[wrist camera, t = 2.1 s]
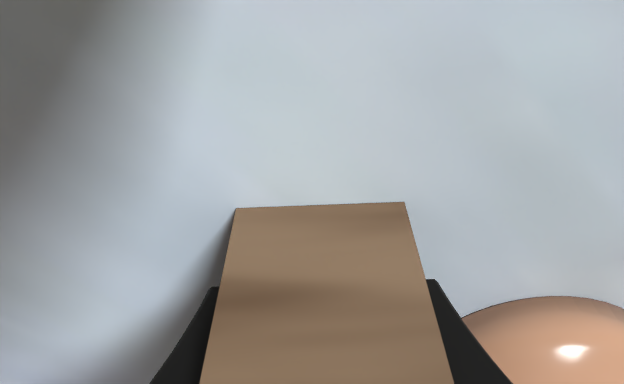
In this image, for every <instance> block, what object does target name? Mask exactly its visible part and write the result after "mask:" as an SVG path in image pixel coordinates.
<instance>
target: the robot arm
mask: <svg viewBox="0 0 624 384" xmlns="http://www.w3.org/2000/svg"><path fill="white" fill-rule="evenodd" d="M426 283H427V286H428V290H429V294H430V297H431V301H432V305H433V308H434V312H435V316H436V319H437V323H438V326H439V330H440V334H441V337H442V341H443V345H444V348H445V352H446V356H447V359H448V363H449V366H450V370H451V374H452V377H453V381H454V384H513V383H512V382H511V381H510V380H509V378H508V377H507V376H506V375H505V374H504V373H503V372H502V370H501V369H500V368H499V367H498V366H497V364H496V363H495V362H494V361H493V360H492V358H491V357H490V356H489V355H488V353H487V352H486V351H485V350H484V348H483V347H482V346H481V344H480V343H479V342H478V341H477V339H476V338H475V337H474V335H473V334H472V333H471V331H470V330H469V329H468V327H467V326H466V324H465V323H464V322H463V320H462V319H461V317H460V316H459V314H458V313H457V312H456V310H455V309H454V307H453V306H452V304H451V303H450V301H449V300H448V298H447V296H446V295H445V293H444V292H443V290H442V288H441V287H440V285H439V283H438V282H437V281H436V280H435V279H426ZM219 288H220V287H212V288H210V289H209V291H208V292H207V294H206V296H205V298H204V300H203V302H202V304H201V306H200V307H199V309H198V311H197V313H196V314H195V316H194V318H193V319H192V321H191V323H190V324H189V326H188V328H187V329H186V331H185V333H184V334H183V336H182V337H181V339H180V340H179V342H178V343H177V345H176V347H175V348H174V350H173V351H172V353H171V354H170V356H169V357H168V359H167V360H166V361H165V363H164V364H163V366H162V367H161V368H160V370H159V371H158V372H157V374H156V375H155V377H154V378H153V379H152V381H151V382H150V384H199V383H200V378H201V373H202V369H203V364H204V359H205V354H206V350H207V345H208V340H209V335H210V331H211V326H212V321H213V316H214V311H215V307H216V302H217V297H218V292H219Z"/></svg>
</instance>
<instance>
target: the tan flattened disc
mask: <svg viewBox="0 0 624 384" xmlns="http://www.w3.org/2000/svg"><path fill="white" fill-rule="evenodd" d="M462 320H463V322H464V323H465V324H466V326H467V327H468V329H469V330H470V331H471V333H472V334H473V335H474V337H475V338H476V339H477V341H478V342H479V343H480V344H481V346H482V347H483V348H484V350H485V351H486V352H487V353H488V355H489V356H490V357H491V358H492V360H493V361H494V362H495V363H496V364H497V366H498V367H499V368H500V369H501V370H502V372H503V373H504V374H505V375H506V376H507V377H508V378H509V380H510V381H511V382H512V383H513V384H624V309H622V308H621V307H618V306H615V305H612V304H609V303H607V302H603V301H598V300H594V299H589V298H580V297H571V296H549V297H536V298H528V299H522V300H516V301H511V302H507V303H503V304H499V305H495V306H492V307H489V308H486V309H483V310H481V311H478V312H475V313H473V314H470V315H468V316H466V317H464V318H462Z"/></svg>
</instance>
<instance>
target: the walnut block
mask: <svg viewBox="0 0 624 384" xmlns="http://www.w3.org/2000/svg"><path fill="white" fill-rule="evenodd" d="M199 384H454V381H453V377H452V374H451V370H450V366H449V363H448V359H447V356H446V352H445V348H444V345H443V341H442V337H441V334H440V330H439V326H438V323H437V319H436V316H435V312H434V308H433V305H432V301H431V297H430V294H429V290H428V286H427V283H426V279H425V275H424V272H423V268H422V265H421V261H420V257H419V254H418V250H417V246H416V243H415V239H414V235H413V232H412V228H411V225H410V221H409V217H408V214H407V210H406V206H405V203H404V202H390V203H363V204H337V205H310V206H284V207H257V208H236V211H235V216H234V221H233V226H232V230H231V235H230V240H229V245H228V249H227V254H226V259H225V264H224V269H223V273H222V278H221V283H220V288H219V292H218V297H217V302H216V307H215V311H214V316H213V321H212V326H211V331H210V335H209V340H208V345H207V350H206V354H205V359H204V364H203V369H202V373H201V378H200V383H199Z"/></svg>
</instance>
